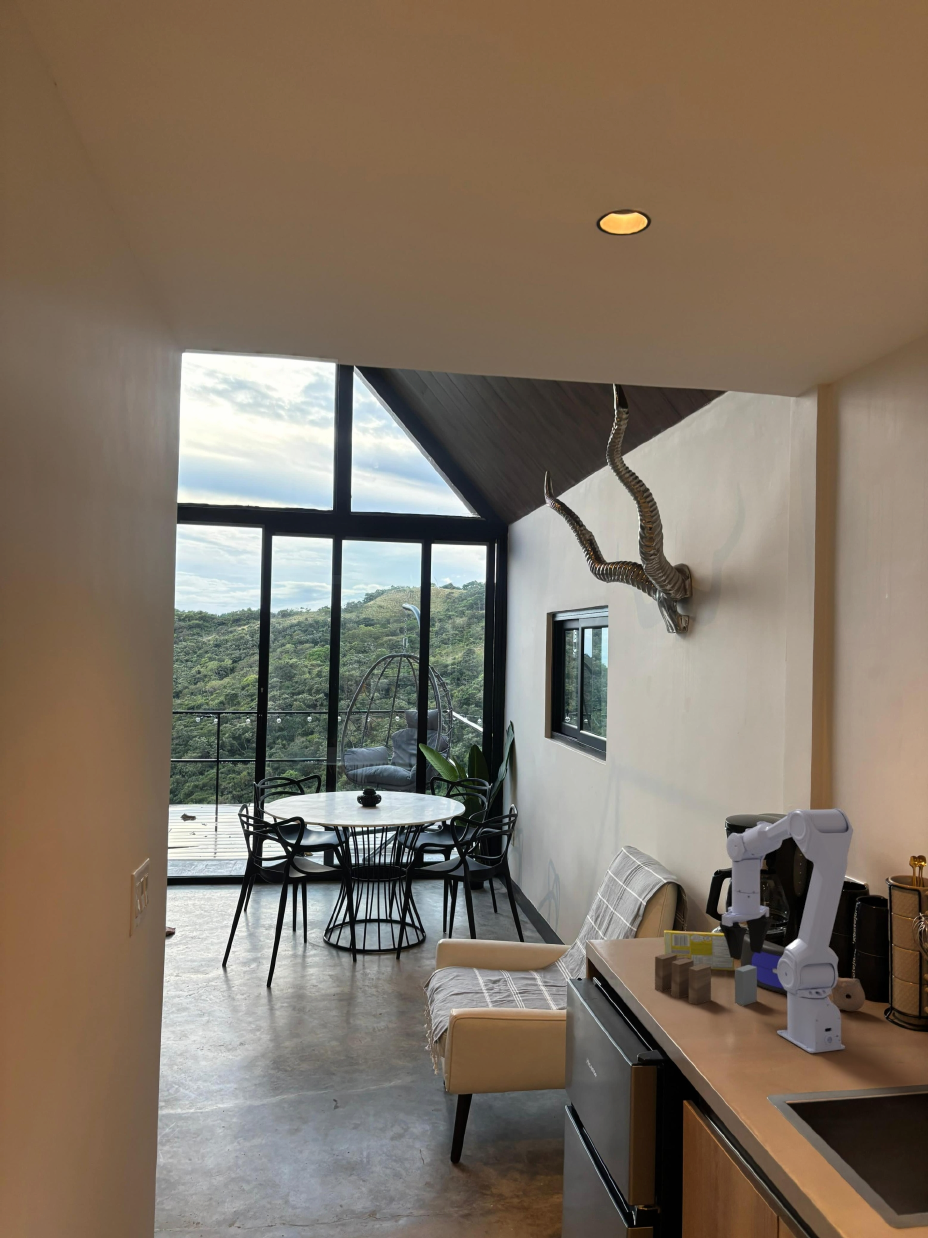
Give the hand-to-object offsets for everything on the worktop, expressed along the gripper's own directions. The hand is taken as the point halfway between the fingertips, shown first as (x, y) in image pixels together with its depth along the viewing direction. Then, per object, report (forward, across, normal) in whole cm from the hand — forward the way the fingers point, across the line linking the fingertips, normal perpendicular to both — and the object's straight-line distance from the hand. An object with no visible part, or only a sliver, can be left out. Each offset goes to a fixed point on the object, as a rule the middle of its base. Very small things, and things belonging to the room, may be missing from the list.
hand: (745, 955), depth 181 cm
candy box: (+10, -10, -20) cm, 24 cm away
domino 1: (+10, +8, -15) cm, 19 cm away
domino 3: (+10, +8, -6) cm, 14 cm away
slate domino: (+10, 0, 0) cm, 10 cm away
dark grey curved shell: (+10, -14, -3) cm, 17 cm away
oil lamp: (+10, -13, +14) cm, 22 cm away
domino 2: (+10, +8, -10) cm, 16 cm away
